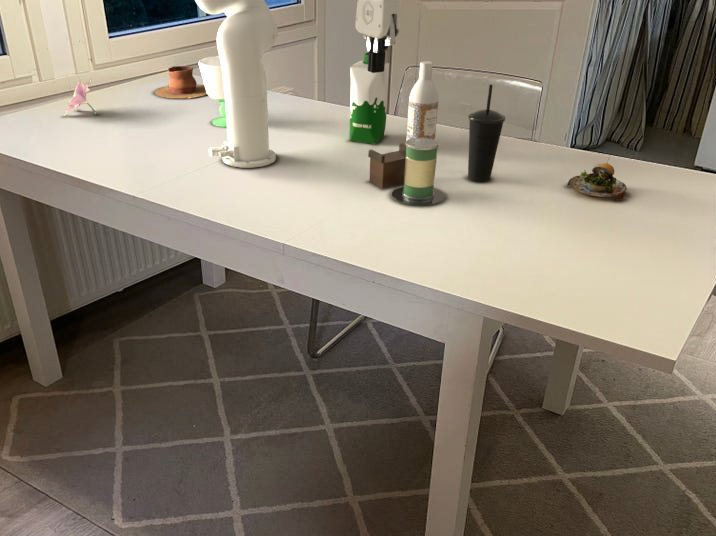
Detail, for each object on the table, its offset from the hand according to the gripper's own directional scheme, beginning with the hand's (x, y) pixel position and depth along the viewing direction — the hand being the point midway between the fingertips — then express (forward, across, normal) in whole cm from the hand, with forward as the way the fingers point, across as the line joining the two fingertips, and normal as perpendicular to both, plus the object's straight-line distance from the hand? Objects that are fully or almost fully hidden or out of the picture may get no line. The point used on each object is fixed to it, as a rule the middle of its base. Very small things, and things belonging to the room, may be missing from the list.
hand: (375, 71), depth 149 cm
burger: (+21, +35, +35) cm, 53 cm away
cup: (+23, -53, -11) cm, 59 cm away
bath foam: (+22, -8, +20) cm, 31 cm away
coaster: (+22, +17, +1) cm, 28 cm away
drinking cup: (+21, +16, +19) cm, 33 cm away
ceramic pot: (+24, -91, -10) cm, 94 cm away
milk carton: (+22, -21, +13) cm, 33 cm away
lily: (+24, -81, -44) cm, 95 cm away
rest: (+22, +8, +1) cm, 23 cm away
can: (+16, +17, +1) cm, 23 cm away
